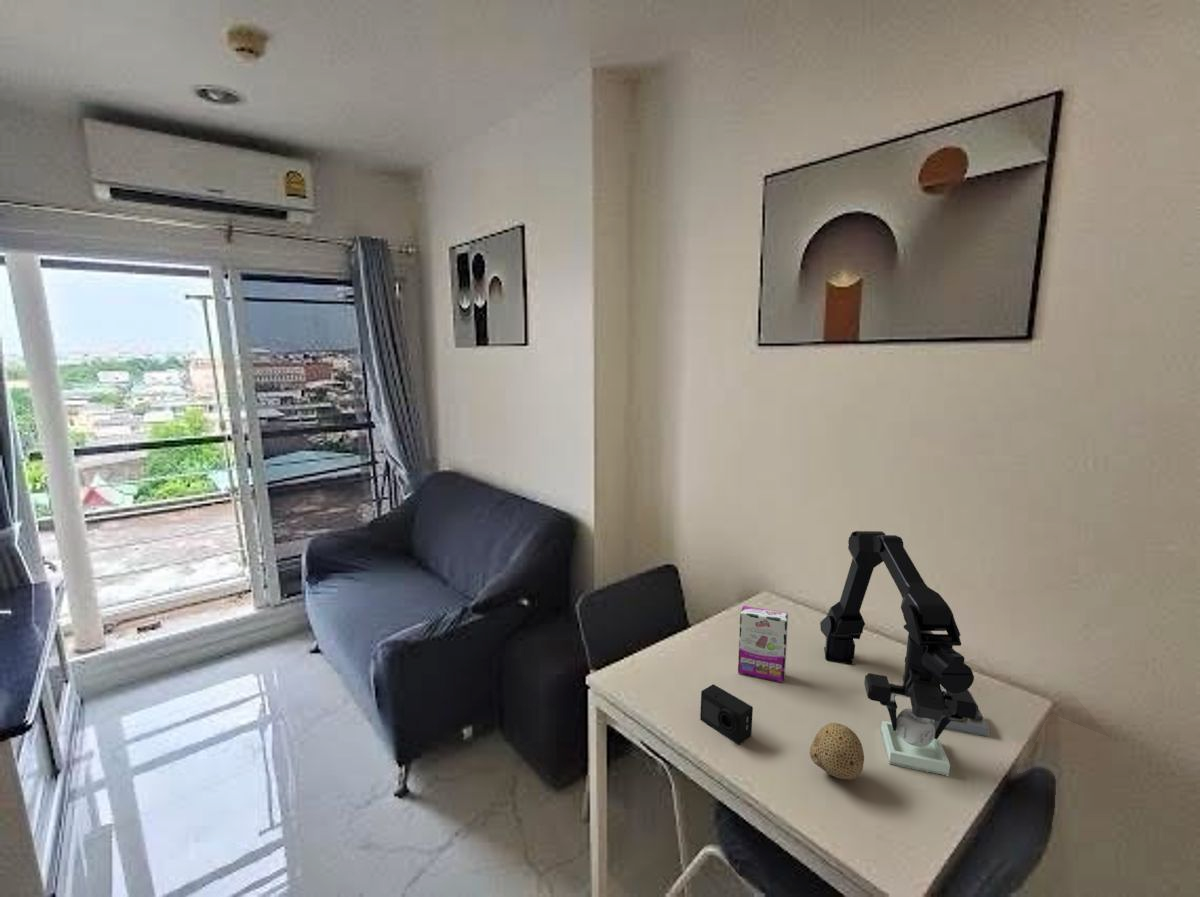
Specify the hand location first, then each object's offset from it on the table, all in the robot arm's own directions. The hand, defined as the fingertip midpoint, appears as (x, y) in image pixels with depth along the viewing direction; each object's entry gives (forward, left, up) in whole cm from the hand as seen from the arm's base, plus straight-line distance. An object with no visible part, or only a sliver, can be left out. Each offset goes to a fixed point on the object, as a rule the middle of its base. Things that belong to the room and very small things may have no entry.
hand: (914, 733), depth 108 cm
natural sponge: (-15, -12, -4) cm, 20 cm away
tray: (0, 0, -4) cm, 4 cm away
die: (0, 0, -1) cm, 1 cm away
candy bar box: (-30, +19, -4) cm, 36 cm away
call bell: (+11, +14, -4) cm, 18 cm away
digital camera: (-37, -5, -4) cm, 37 cm away
